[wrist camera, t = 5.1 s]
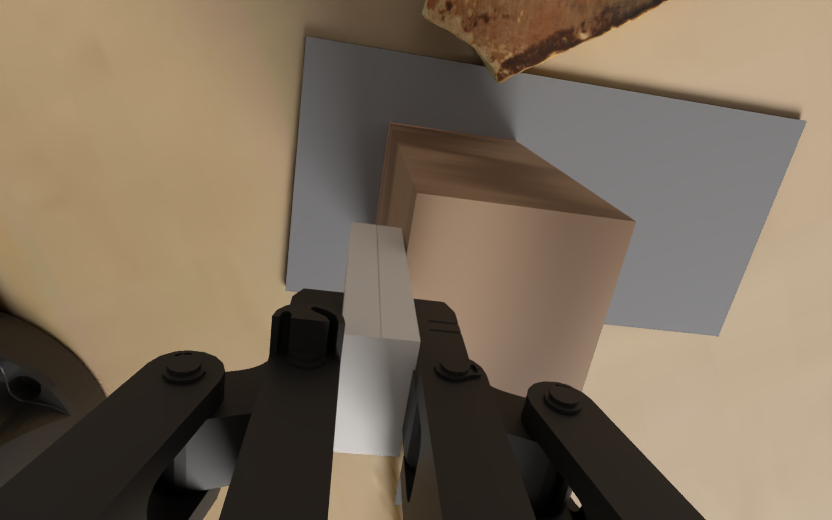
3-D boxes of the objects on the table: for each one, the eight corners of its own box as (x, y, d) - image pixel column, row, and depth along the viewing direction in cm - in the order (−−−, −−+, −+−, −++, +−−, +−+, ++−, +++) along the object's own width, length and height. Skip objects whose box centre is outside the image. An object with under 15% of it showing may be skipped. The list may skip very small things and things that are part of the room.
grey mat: (286, 287, 28) (285, 290, 28) (307, 36, 24) (306, 36, 23) (714, 332, 31) (718, 336, 31) (800, 120, 27) (806, 121, 27)
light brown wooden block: (372, 245, 27) (384, 391, 16) (389, 122, 25) (417, 192, 14) (489, 258, 28) (577, 405, 17) (516, 141, 26) (635, 221, 15)
